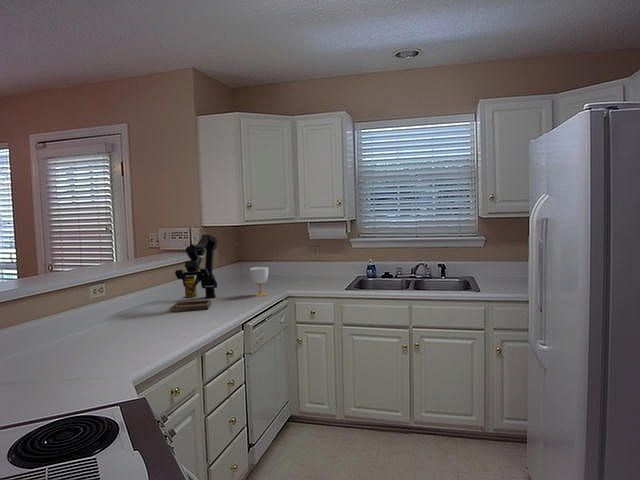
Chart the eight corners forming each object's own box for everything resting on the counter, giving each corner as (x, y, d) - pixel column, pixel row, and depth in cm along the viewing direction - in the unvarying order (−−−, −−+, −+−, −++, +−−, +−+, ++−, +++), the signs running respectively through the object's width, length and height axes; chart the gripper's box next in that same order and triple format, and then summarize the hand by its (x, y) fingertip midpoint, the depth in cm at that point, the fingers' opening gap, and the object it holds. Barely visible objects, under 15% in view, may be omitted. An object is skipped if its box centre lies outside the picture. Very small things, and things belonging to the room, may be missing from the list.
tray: (176, 306, 274) (176, 302, 274) (211, 303, 276) (210, 299, 276) (170, 312, 258) (170, 308, 258) (207, 309, 260) (207, 305, 260)
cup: (273, 293, 300) (271, 266, 299) (263, 296, 290) (261, 269, 289) (257, 292, 305) (256, 266, 304) (247, 296, 295) (245, 269, 294)
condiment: (193, 298, 261) (192, 277, 260) (179, 298, 263) (178, 277, 262) (199, 295, 268) (198, 275, 268) (186, 296, 270) (184, 275, 269)
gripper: (174, 256, 269) (168, 278, 259) (206, 254, 267) (201, 276, 257) (180, 267, 277) (175, 289, 267) (211, 266, 275) (207, 288, 265)
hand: (189, 285), depth 264 cm, fingers closed on condiment, 6 cm apart
